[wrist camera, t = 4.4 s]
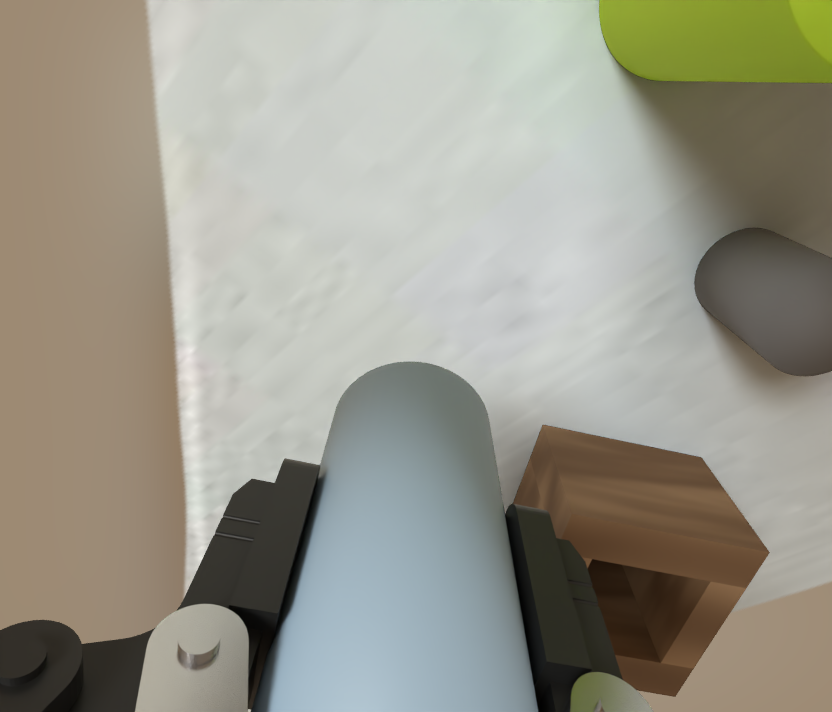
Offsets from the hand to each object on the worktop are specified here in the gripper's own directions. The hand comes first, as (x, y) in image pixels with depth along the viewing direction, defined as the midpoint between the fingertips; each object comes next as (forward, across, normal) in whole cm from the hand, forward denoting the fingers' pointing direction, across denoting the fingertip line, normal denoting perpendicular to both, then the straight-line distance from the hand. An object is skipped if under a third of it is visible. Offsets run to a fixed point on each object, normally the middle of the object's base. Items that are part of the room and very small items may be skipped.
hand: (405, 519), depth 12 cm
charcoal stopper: (+17, -15, -3) cm, 23 cm away
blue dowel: (+3, 0, 0) cm, 3 cm away
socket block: (+17, -13, +12) cm, 24 cm away
